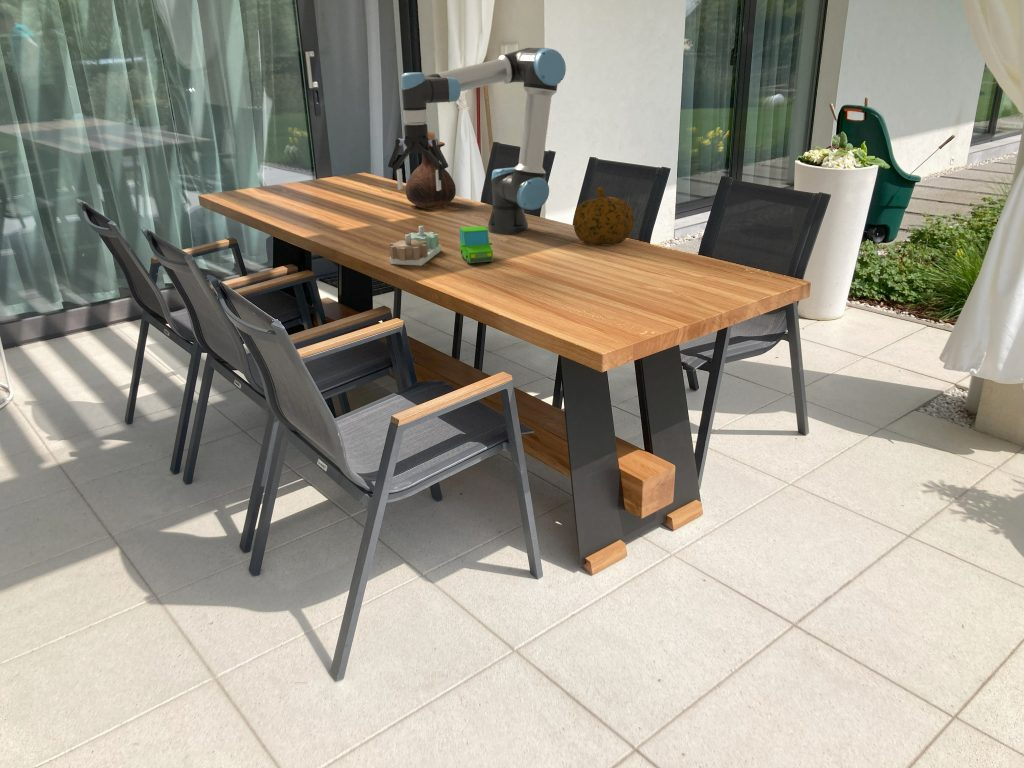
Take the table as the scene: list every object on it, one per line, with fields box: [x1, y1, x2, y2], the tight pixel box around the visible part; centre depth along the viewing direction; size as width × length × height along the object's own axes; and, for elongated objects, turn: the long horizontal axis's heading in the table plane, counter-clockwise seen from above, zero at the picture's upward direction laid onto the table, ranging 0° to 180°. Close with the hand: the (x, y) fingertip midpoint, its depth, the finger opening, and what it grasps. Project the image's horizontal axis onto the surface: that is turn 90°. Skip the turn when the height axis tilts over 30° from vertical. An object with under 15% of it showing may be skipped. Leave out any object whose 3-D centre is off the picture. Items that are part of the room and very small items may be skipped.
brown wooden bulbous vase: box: [405, 131, 457, 209], centre depth 355 cm, size 22×22×30 cm
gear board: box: [389, 225, 442, 267], centre depth 278 cm, size 12×23×9 cm, turn 166°
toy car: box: [459, 225, 494, 265], centre depth 274 cm, size 10×13×10 cm
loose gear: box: [408, 231, 439, 249], centre depth 285 cm, size 10×10×4 cm
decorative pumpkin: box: [573, 186, 635, 247], centre depth 293 cm, size 20×21×20 cm
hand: (419, 189), depth 278 cm, fingers open, 13 cm apart
